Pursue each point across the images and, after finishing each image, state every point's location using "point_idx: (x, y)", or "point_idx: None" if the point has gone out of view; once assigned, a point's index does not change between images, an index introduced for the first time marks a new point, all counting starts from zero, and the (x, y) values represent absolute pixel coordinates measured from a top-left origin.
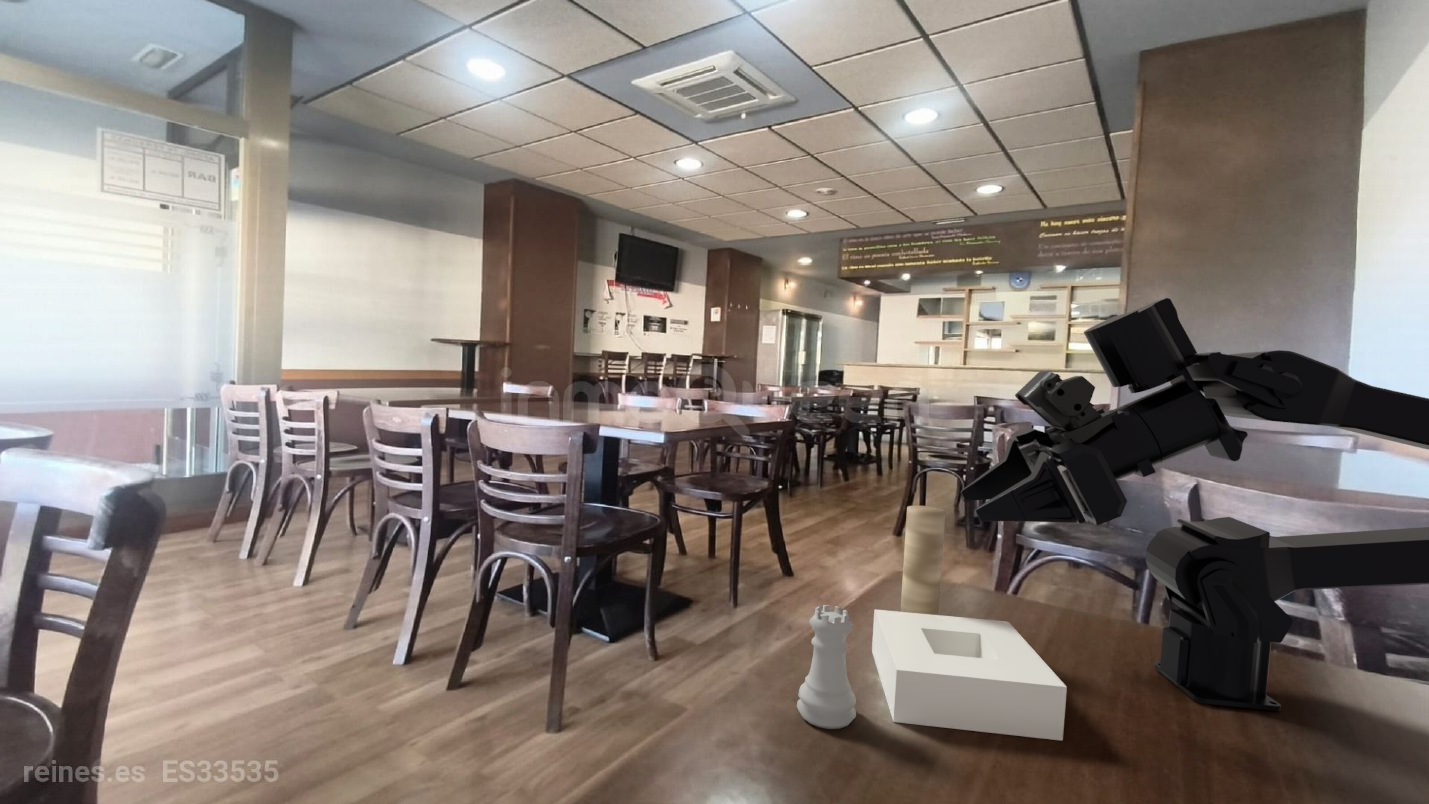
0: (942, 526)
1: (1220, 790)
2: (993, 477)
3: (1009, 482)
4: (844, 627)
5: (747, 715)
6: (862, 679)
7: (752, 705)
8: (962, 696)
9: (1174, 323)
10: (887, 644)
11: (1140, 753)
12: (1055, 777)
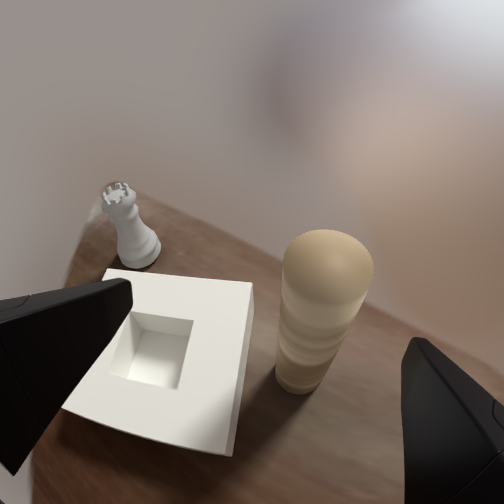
0: (296, 308)
1: (31, 483)
2: (447, 424)
3: (435, 492)
4: (102, 204)
5: (149, 213)
6: None
7: (160, 215)
8: None
9: None
10: (153, 273)
11: (66, 470)
12: None
